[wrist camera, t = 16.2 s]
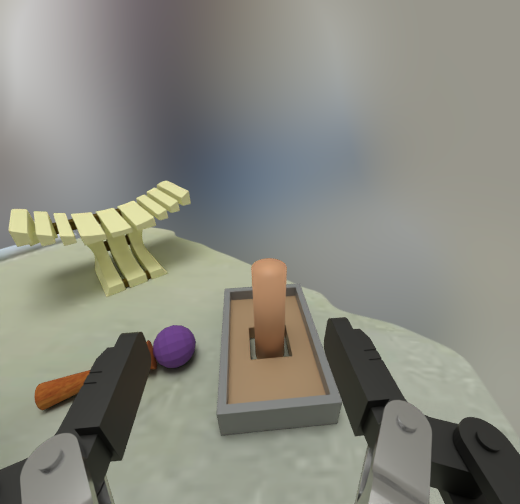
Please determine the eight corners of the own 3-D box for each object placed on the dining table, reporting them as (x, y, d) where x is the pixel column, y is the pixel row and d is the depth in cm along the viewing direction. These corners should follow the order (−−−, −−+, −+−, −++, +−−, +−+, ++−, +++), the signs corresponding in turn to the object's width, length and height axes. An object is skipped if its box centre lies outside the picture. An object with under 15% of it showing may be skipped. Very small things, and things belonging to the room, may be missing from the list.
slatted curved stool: (175, 239, 75) (161, 178, 66) (200, 260, 64) (188, 191, 55) (51, 278, 59) (12, 205, 50) (57, 316, 48) (8, 231, 39)
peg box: (220, 435, 30) (216, 414, 28) (226, 307, 49) (224, 288, 47) (337, 423, 31) (342, 402, 28) (298, 301, 50) (299, 283, 47)
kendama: (41, 363, 35) (187, 312, 40) (60, 394, 37) (196, 341, 42) (20, 398, 29) (191, 333, 35) (44, 432, 31) (202, 366, 37)
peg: (256, 366, 38) (252, 279, 30) (254, 342, 41) (250, 259, 33) (285, 363, 38) (289, 276, 30) (281, 340, 42) (283, 257, 34)
